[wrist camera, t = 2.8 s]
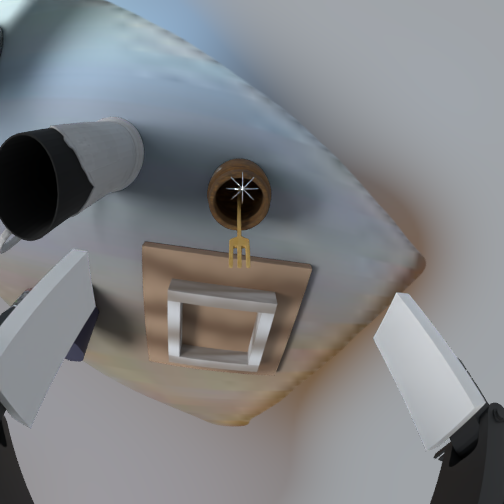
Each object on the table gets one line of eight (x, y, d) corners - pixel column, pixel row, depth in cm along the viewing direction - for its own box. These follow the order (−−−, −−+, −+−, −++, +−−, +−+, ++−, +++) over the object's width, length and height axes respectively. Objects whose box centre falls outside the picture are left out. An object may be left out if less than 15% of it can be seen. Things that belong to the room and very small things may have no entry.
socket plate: (145, 241, 31) (135, 255, 27) (309, 264, 33) (317, 280, 30) (150, 355, 39) (145, 372, 36) (273, 370, 42) (276, 387, 38)
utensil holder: (268, 157, 27) (288, 179, 16) (265, 214, 30) (281, 268, 19) (210, 157, 27) (192, 178, 16) (211, 214, 30) (197, 268, 19)
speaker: (58, 281, 32) (28, 331, 24) (88, 280, 33) (60, 335, 24) (76, 318, 36) (55, 369, 28) (105, 319, 37) (87, 373, 28)
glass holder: (159, 158, 27) (91, 193, 13) (82, 233, 30) (13, 301, 16) (114, 101, 23) (23, 96, 10) (44, 183, 26) (-38, 229, 13)
